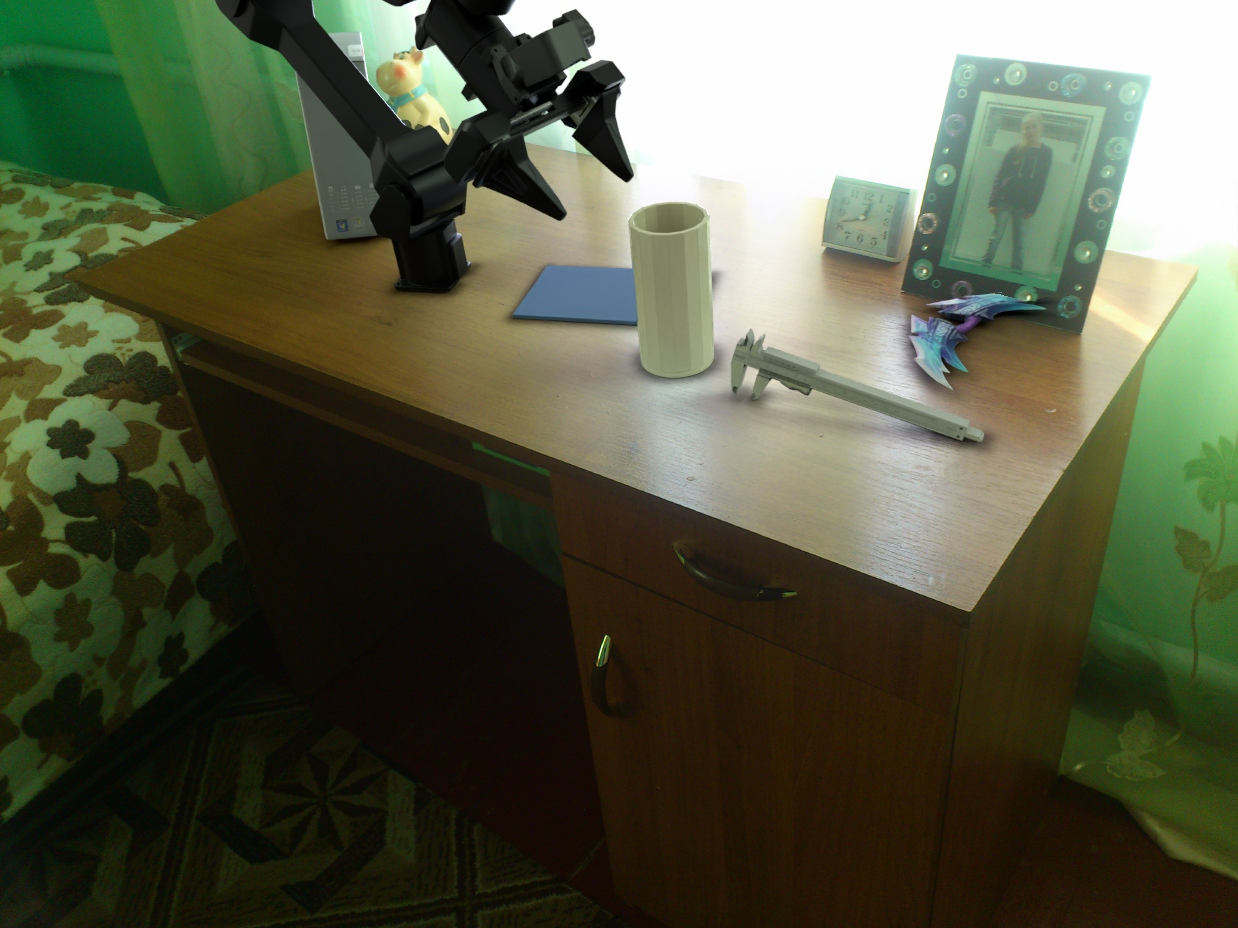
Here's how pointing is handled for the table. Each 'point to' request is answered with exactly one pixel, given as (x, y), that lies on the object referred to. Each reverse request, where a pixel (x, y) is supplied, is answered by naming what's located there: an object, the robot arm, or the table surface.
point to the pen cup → (673, 287)
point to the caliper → (837, 388)
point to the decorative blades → (955, 329)
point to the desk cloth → (581, 295)
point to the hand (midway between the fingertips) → (598, 198)
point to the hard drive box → (339, 158)
